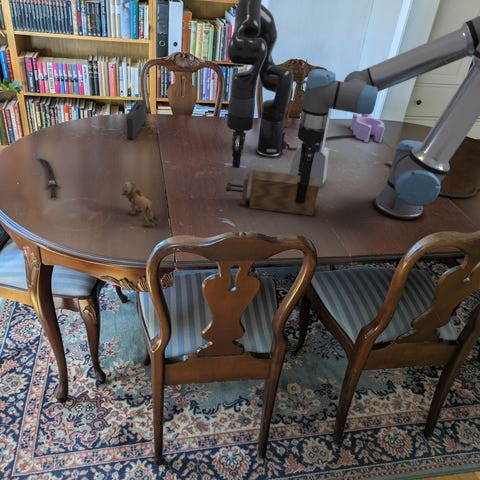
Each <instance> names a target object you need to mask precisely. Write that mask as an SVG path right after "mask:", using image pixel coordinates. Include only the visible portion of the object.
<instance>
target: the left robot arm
mask: <svg viewBox="0 0 480 480" xmlns="http://www.w3.org/2000/svg"><path fill="white" fill-rule="evenodd" d="M237 1H238V2H237V5H236V8H235V12H234V28H233V33H232V35H231V37H230V39H229V42H228V44H227V48H226V55H227V58H228V60H229V61H230V62H231V63H232V64H235V65H244V66H250V68H249V69H248V70H246V71H245V70H244V71H240V72H235V73H234V74H232V76H231V82H230V83H231V84H230V93H229V94H230V96H229V100H228V110H227V111H228V112H227V122H226V125H227V128H228V129H230V130H233V131H232V133H231V151H232V153H231V155H232V168H233V169H240V167H241V158H242V154H243V151H244V147H245V142H246V138H247V133H246V132H249V131H251V130H252V129H253V128H254V119H255V109H256V95H257V93H256V92H257V83H258V79H259V80H260V84H261V86H262V88H263V89H265V90H266V91H268V92H271V93H274V98H273V99H266V100H264V101H263V102H262V105H261V114H260V123H259V131H258V138H257V139H258V140H257V148H256V153H257V154H258V155H259V156H262V157H264V158H265V157H266V158H277V157H279V156H281V155H282V154H283V150H286V149H288V150H290V151H296V150H297V148H298V147H290V146H291V145H290V143H288V142H287V141H286V140H285V136H286V130H284V128H285V127H284V125H285V122H286V117H287V116H286V115H287V108H288V106H289V103H290V101H291V93H292V89H293V85H294V72H293V71H292V69H290V68H287V67H284V66H280V65H277V64H276V63H275V61H274V59H273V55H272V53H273V50H274V48H275V45H276V43H277V40H278V31H277V30H278V29H277V27H276V26H277V25H276V22H275V18H274V16H273V13H272V12H271V11H270V10H269V9H268V8H267V7H266V6H265V5H264V4H262V2H263V0H237ZM373 137H374V135H372V134H370V136H369V138H373ZM340 138H356V135H353V134H345V135H343V134H342V135H333V136H326V140H331V139H340ZM326 140H325V141H326Z"/></svg>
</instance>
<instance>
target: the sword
mask: <svg viewBox="0 0 480 480" xmlns="http://www.w3.org/2000/svg"><path fill="white" fill-rule="evenodd" d="M40 161H41V162H42V163H43V165H44V166H45V169H46V173H47V176H48V185H47V188H50V198H56V197H57V189H56V188H57V187H59V185H58V184H57V183H56V180H55V176H54V172H53V169H52V167H51V164H50V163H49V161H48V160H46V159H43V158H40Z"/></svg>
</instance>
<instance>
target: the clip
mask: <svg viewBox="0 0 480 480" xmlns="http://www.w3.org/2000/svg"><path fill="white" fill-rule="evenodd" d="M352 113H353V112H352ZM349 129H350V130H351V131H353V132H352V135H356V137H355V138H356V139H358V140H361V141H363V142H364V143H368V142H369V140H370V137H369V136H370V135H373V136H374V139H373V140H374V142H376V143H382V140H383V137H384V132H385V129H386V127H385V122H384V121H383V120H380V119H377V118H374V117H372V115H371V114H361V115H359V114H358V113H353V114H352V118H351V122H350V126H349Z"/></svg>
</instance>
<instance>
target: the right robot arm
mask: <svg viewBox="0 0 480 480" xmlns="http://www.w3.org/2000/svg"><path fill="white" fill-rule="evenodd" d="M468 57H470V58H471V59H472V65H471V67H470V69H469V70H468V72H466V75H465V77H464V78H463V79H462V81H461V83H460V84H459V86H458V87H457V88H456V90H455V91H454V94H453V95H452V97H451V98H450V100H449V101H448V103H447V104H446V105H445V108H444V109H443V111H442V112H441V114H440V115H439V117H438V118H437V120H436V122H435V123H434V125H433V126H432V128H431V129H430V131H429V132H428V134H427V135H426V137H425V138H424V140H423V142H422V141H417V140H412V139H411V140H410V139H406V140H401V141H399V142H398V144H397V147H396V148H395V152H394V153H395V154H394V156H393V160H392V166H390V170H389V174H388V177H387V180H386V184H384V186H383V188H381V189H380V191H379V194H378V195H377V197H376V199H375V202H374V207H375V208H376V209H377V210H378V211H379V212H380V213H381V214H383V215H385V216H386V217H390V218H393V219H396V220H401V221H414V220H417V219H419V218H421V217H422V215H423V212H424V206H426V205H429V204H431V203H432V202H434V201H435V200H436V198H437V197H438V196H440V197H446V198H451V199H468V198H469V199H470V198H472V197H474V196H475V195H476V194H477V192H478V191H479V187H478V186H476V187H475V188H474V189H473V192H472V193H470V194H463V195H462V194H449V193H444V192H440V191H441V188H442V187H441V183H442V181H443V180H444V179H445V177H446V175H447V174H448V173H449V171H450V169H451V167H450V163H449V161H450V160H451V159H452V157H453V156H454V154H455V153H456V151H458V148H459V147H460V145H461V144H462V143H463V141H464V140H465V138H466V137H467V135H468V134H469V133H470V131H471V130H472V128H473V127H474V126H475V124H476V123H477V121H478V120H479V118H480V15H478V16H476V17H474V18H471V19H469V20H467V21H465V22H463V23H462V26H460V28H459V29H456V30H454V31H451V32H449V33H446V34H444V35H442V36H439V37H437V38H435V39H432V40H430V41H428V42H425V43H423V44H421V45H419V46H416V47H413V48H412V49H409V50H407V51H404V52H401V53H399V54H397V55H395V56H392V57H390V58H388V59H385V60H383V61H380V62H378V63H376V64H374V65H371V66H368V67H367V68H364V69H362V70H353V71H351V72H349V73H348V74H347V75H346V77H345V78H344V80H343V81H340V80H337V79H336V73H335V72H334V71H331V70H328V69H323V68H322V69H321V68H316V69H311V70H310V71H309V72H308V74H307V79H306V81H307V83H305V87H304V92H303V107H302V113H301V112H299V114H298V116H299V117H298V118H300V120H299V121H300V122H299V124H300V125H299V126H298V131H297V138H298V140H299V141H300V142H301V144H302V146H301V149H302V150H301V157H300V163H299V166H298V167H299V170H298V171H299V172H300V173H298V175H299V176H300V182H297V184H298V190H297V195H296V201H295V203H303V204H304V202H305V197H306V191H307V186H309V179H310V174H311V168H312V163H313V158H314V154H315V150H316V148H315V145H317V144H319V143H320V142H322V141H323V138H324V133H325V129H324V128H325V127H326V123H327V118H328V112H329V109H332V110H335V111H336V110H337V111H341V112H347V113H358V114H357V115H362V114H369V115H371V114H373V113H374V110H375V107H376V103H377V99H378V95H379V94H378V93H379V92H382V91H384V90H386V89H388V88H391V87H394V86H396V85H399V84H401V83H404V82H407V81H409V80H412V79H414V78H416V77H419V76H422V75H424V74H426V73H427V74H428V73H430V72H431V71H434V70H437V69H439V68H442V67H445V66H447V65H449V64H450V65H451V64H453V63H454V62H457V61H459V60H462V59H465V58H468ZM314 144H315V145H314Z"/></svg>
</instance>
